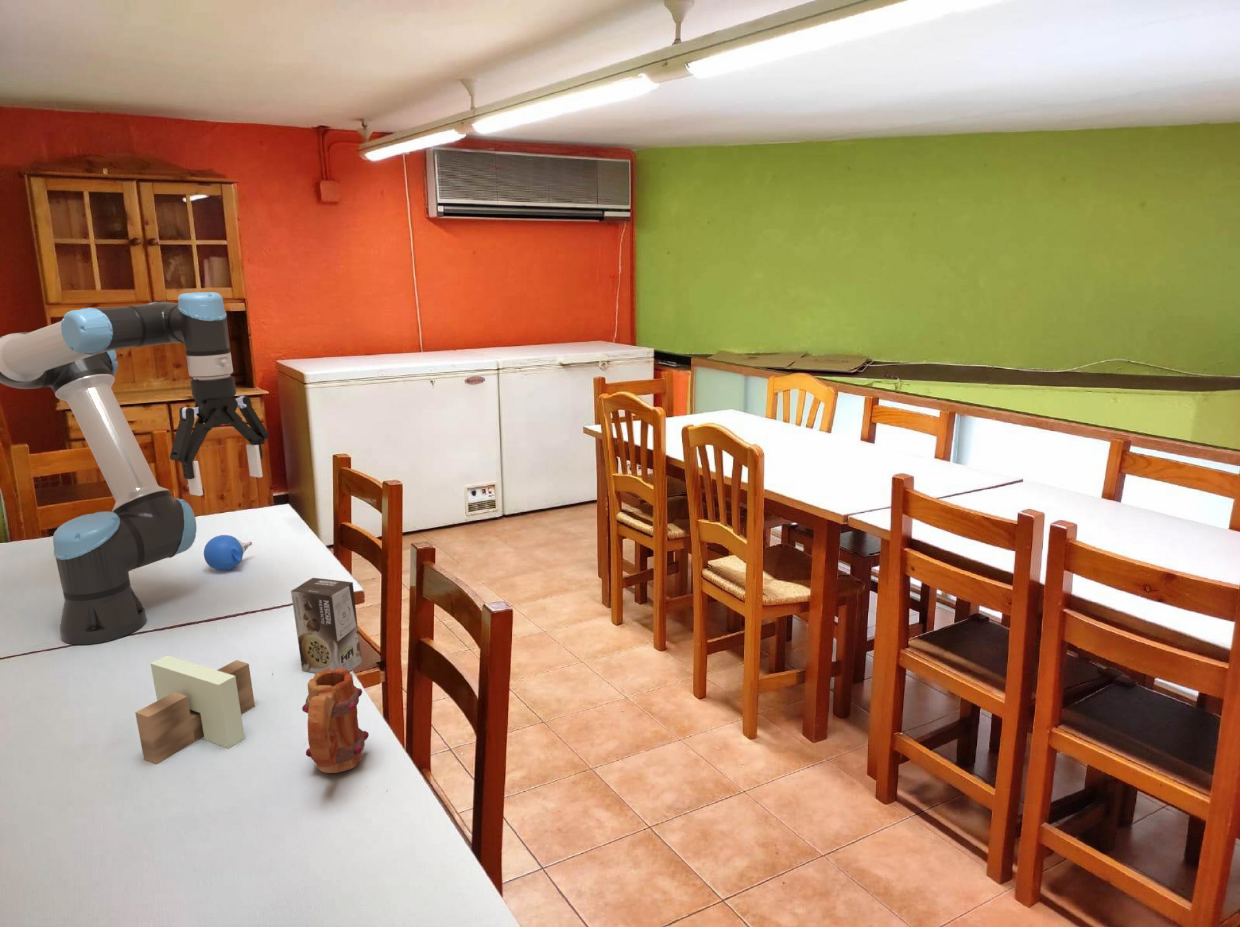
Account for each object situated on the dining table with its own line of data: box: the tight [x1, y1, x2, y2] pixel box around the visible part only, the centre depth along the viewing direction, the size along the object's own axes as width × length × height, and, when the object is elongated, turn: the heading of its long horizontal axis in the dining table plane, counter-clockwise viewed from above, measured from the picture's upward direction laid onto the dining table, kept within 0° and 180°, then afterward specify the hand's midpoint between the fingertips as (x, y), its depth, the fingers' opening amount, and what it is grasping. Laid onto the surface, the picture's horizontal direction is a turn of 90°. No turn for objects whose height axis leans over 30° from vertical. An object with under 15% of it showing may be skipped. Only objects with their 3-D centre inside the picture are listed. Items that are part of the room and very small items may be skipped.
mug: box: [301, 668, 370, 774], centre depth 122 cm, size 15×8×15 cm, turn 5°
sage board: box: [150, 655, 245, 749], centre depth 134 cm, size 16×3×11 cm, turn 63°
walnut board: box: [135, 659, 256, 765], centre depth 135 cm, size 18×3×8 cm, turn 153°
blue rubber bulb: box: [203, 534, 253, 572], centre depth 204 cm, size 12×12×8 cm
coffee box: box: [290, 577, 362, 674], centre depth 154 cm, size 9×6×16 cm
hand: (227, 485), depth 163 cm, fingers open, 13 cm apart
